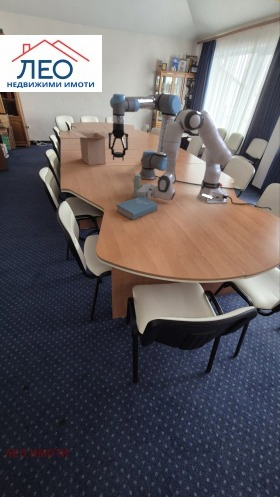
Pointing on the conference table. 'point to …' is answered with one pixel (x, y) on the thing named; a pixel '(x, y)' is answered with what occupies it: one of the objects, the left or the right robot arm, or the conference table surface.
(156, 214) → the conference table surface
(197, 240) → the conference table surface
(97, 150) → the box
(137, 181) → the jar
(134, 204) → the book
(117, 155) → the lid
